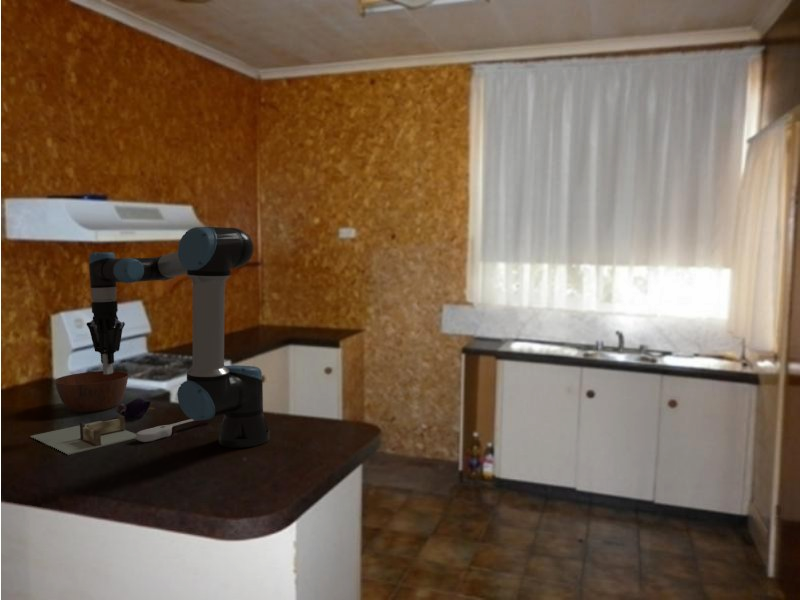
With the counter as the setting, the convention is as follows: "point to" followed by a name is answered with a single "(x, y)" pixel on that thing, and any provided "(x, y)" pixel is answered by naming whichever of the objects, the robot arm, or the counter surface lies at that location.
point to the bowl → (92, 390)
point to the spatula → (157, 432)
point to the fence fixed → (90, 434)
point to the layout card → (72, 442)
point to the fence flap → (109, 425)
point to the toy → (134, 408)
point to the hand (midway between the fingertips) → (108, 373)
